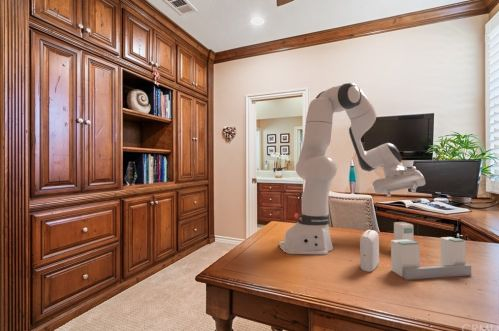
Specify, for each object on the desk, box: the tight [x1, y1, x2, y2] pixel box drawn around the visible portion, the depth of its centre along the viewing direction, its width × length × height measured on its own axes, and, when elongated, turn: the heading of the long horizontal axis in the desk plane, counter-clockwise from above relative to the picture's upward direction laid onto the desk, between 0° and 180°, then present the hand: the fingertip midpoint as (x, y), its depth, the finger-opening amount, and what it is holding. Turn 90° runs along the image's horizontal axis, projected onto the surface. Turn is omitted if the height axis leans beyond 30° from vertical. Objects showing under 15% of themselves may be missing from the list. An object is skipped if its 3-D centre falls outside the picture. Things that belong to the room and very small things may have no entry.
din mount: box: [390, 236, 472, 280], centre depth 79 cm, size 22×7×10 cm, turn 96°
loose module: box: [393, 221, 414, 241], centre depth 99 cm, size 4×5×11 cm
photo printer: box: [359, 229, 380, 273], centre depth 85 cm, size 10×4×12 cm, turn 139°
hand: (401, 193), depth 106 cm, fingers open, 8 cm apart
